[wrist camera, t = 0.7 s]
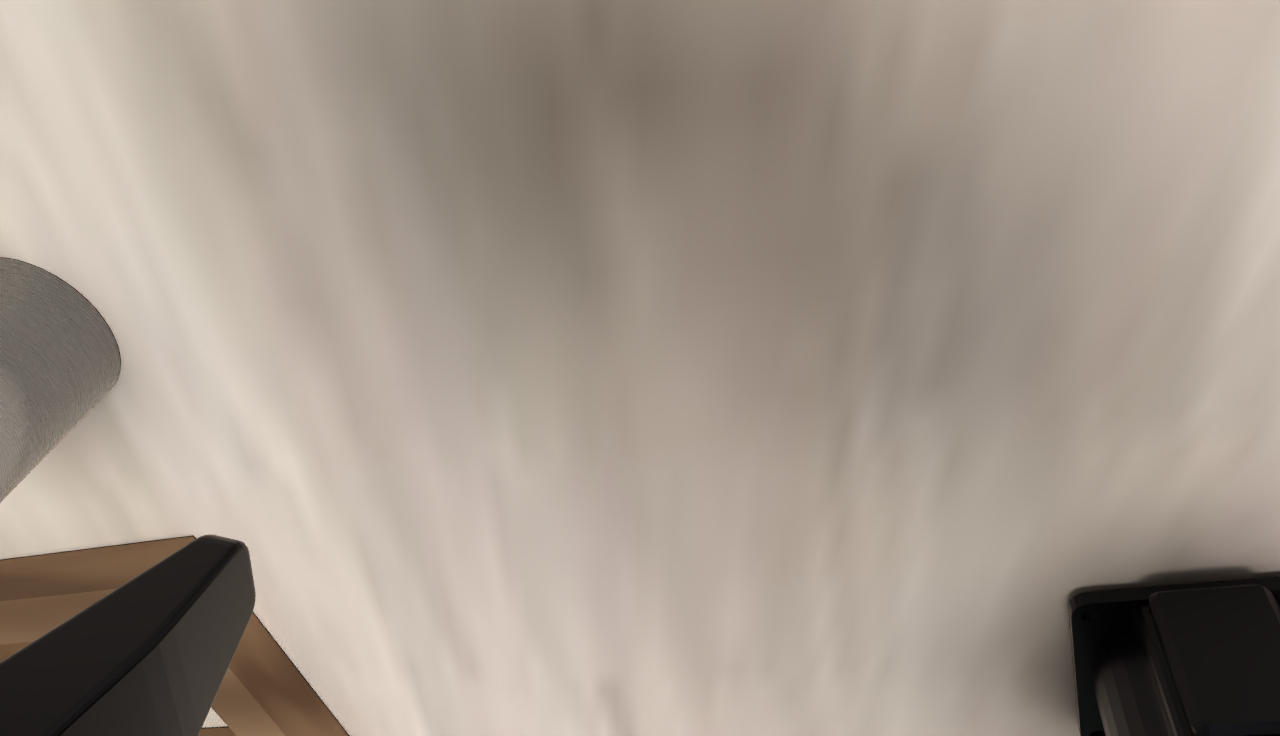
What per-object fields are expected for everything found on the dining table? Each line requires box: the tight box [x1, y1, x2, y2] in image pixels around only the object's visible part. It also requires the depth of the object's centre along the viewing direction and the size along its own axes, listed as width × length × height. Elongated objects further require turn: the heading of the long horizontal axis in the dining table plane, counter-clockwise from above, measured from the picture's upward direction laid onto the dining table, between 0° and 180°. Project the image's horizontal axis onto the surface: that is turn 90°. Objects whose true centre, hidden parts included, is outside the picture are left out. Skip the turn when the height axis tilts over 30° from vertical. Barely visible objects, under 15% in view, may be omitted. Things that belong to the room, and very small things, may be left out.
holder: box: [0, 536, 348, 736], centre depth 35 cm, size 12×12×2 cm
